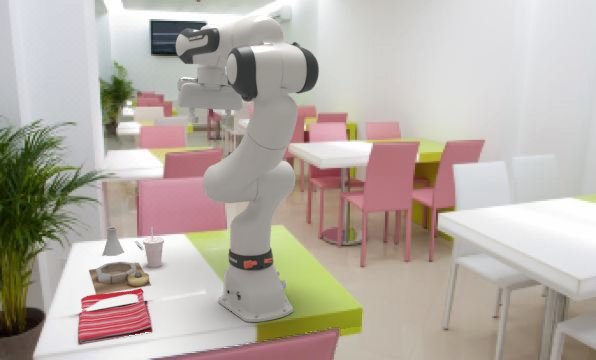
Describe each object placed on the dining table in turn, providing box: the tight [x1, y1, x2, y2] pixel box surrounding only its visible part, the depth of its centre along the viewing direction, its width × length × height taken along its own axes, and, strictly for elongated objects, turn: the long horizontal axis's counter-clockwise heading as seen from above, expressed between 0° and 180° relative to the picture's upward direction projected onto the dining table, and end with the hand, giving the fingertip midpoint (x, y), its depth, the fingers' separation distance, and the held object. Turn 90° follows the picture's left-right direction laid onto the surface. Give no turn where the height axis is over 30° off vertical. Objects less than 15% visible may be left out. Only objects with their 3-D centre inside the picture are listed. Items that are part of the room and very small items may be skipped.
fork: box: [134, 240, 145, 251], centre depth 182 cm, size 3×24×2 cm, turn 29°
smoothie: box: [142, 226, 165, 269], centre depth 162 cm, size 6×6×14 cm
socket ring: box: [95, 261, 137, 284], centre depth 153 cm, size 11×11×2 cm
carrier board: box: [88, 262, 152, 295], centre depth 153 cm, size 20×15×4 cm
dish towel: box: [77, 287, 153, 345], centre depth 131 cm, size 17×24×3 cm
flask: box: [102, 226, 125, 257], centre depth 173 cm, size 7×7×10 cm
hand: (209, 123), depth 161 cm, fingers open, 8 cm apart
